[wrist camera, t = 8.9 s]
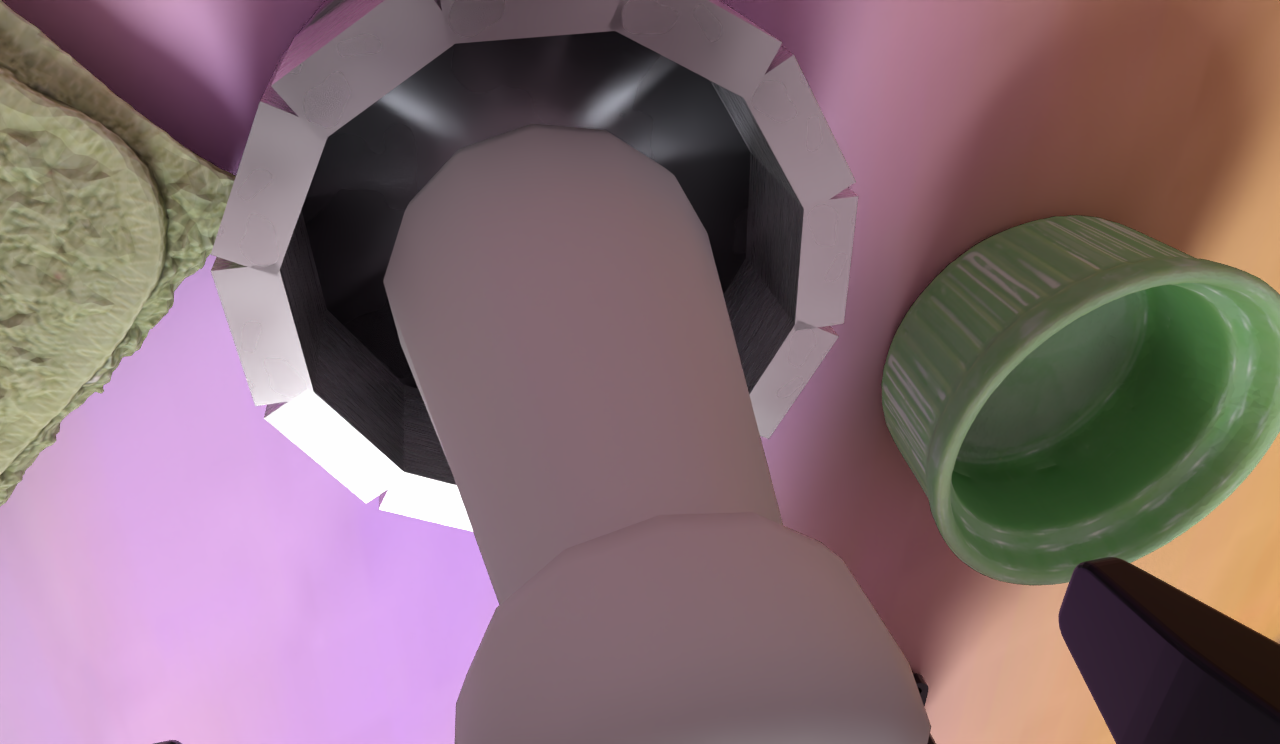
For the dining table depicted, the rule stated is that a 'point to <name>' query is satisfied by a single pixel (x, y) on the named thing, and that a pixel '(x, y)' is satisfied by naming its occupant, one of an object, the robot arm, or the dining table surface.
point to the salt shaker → (620, 468)
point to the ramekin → (1080, 394)
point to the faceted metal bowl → (481, 109)
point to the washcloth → (83, 235)
